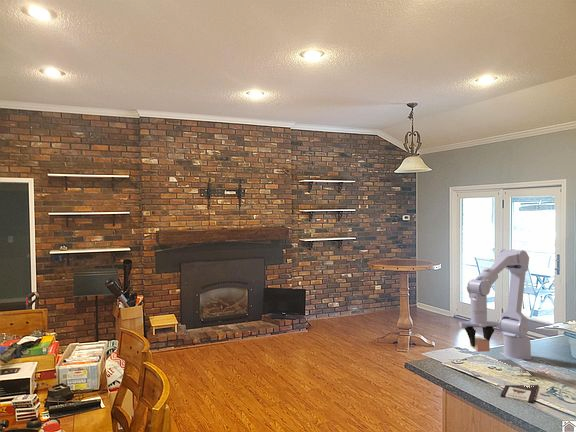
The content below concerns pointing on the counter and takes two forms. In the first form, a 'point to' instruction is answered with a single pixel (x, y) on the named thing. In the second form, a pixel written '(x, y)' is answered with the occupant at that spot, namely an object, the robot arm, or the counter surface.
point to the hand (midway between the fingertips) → (479, 346)
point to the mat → (511, 367)
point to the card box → (481, 344)
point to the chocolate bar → (520, 392)
